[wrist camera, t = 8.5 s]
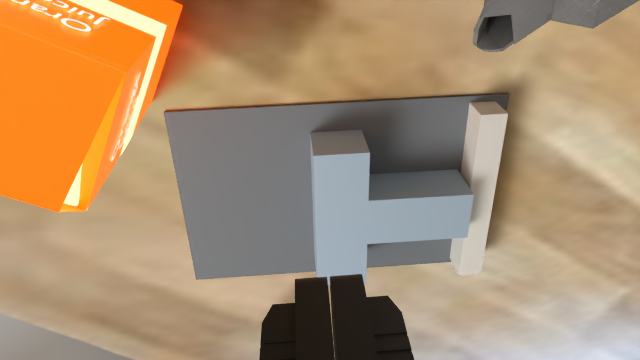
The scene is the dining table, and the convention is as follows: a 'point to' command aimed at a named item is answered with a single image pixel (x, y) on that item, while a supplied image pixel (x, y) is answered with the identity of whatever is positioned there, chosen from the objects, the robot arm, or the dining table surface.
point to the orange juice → (75, 91)
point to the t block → (376, 204)
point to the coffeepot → (537, 18)
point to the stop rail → (479, 181)
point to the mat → (299, 176)
